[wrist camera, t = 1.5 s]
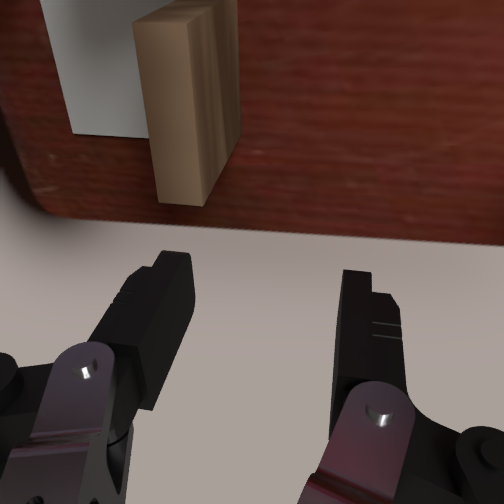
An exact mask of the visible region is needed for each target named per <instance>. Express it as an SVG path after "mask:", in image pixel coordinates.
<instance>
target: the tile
mask: <svg viewBox="0 0 504 504" xmlns="http://www.w3.org/2000/svg"><path fill="white" fill-rule="evenodd" d="M132 28H133V35H134V41H135V48H136V55H137V61H138V68H139V75H140V81H141V88H142V95H143V101H144V108H145V115H146V121H147V128H148V135H149V141H150V148H151V155H152V161H153V168H154V175H155V182H156V188H157V195H158V202H160V203H171V204H183V205H194V206H203V205H204V203H205V201H206V199H207V197H208V196H209V194H210V192H211V190H212V188H213V186H214V184H215V183H216V181H217V179H218V177H219V175H220V173H221V171H222V170H223V168H224V166H225V164H226V162H227V160H228V158H229V157H230V155H231V153H232V151H233V149H234V147H235V145H236V144H237V142H238V140H239V138H240V136H241V111H240V77H239V43H238V9H237V0H175V1H173V2H171V3H169V4H167V5H165V6H163V7H161V8H159V9H157V10H155V11H153V12H151V13H149V14H147V15H145V16H143V17H141V18H139V19H137V20H135V21H133V22H132Z"/></svg>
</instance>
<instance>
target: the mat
mask: <svg viewBox="0 0 504 504" xmlns="http://www.w3.org/2000/svg"><path fill="white" fill-rule="evenodd" d="M173 1H175V0H40V2H41V6H42V10H43V14H44V18H45V22H46V26H47V30H48V34H49V38H50V42H51V46H52V50H53V54H54V58H55V62H56V66H57V70H58V74H59V78H60V83H61V87H62V91H63V95H64V99H65V103H66V107H67V111H68V115H69V119H70V123H71V127H72V131H73V133H74V134H89V135H105V136H121V137H136V138H149V135H148V128H147V121H146V115H145V108H144V101H143V95H142V88H141V81H140V75H139V68H138V61H137V55H136V48H135V41H134V35H133V28H132V22H133V21H135V20H137V19H139V18H141V17H143V16H145V15H147V14H149V13H151V12H153V11H155V10H157V9H159V8H161V7H163V6H165V5H167V4H169V3H171V2H173Z"/></svg>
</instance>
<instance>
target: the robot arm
mask: <svg viewBox="0 0 504 504" xmlns="http://www.w3.org/2000/svg"><path fill="white" fill-rule="evenodd" d="M194 307H195V288H194V279H193V270H192V261H191V256H190V254H189V253H185V252H175V251H165V250H163V251H161V253H160V254H159V256H158V257H157V259H156V261H155V262H154V264H153V266H152V267H146V266H142V267H141V268H139V269H138V270H137V271H135V272H134V273H133V274H132V275H130V276H129V277H128V278H127V280H126V281H125V283H124V284H123V286H122V287H121V289H120V292H119V293H118V294H117V295H116V297H115V298H114V300H113V303H112V304H110V306H109V308H108V309H107V311H106V312H105V314H104V316H103V317H102V319H101V320H100V322H99V323H98V325H97V326H96V328H95V330H94V331H93V333H92V334H91V336H90V338H89V339H88V341H87V342H83V343H79V344H77V345H74V346H72V347H70V348H68V349H67V350H65V351H64V352H63V353H61V354H60V355H59V356H58V358H57V359H56V360H55V362H54V363H50V364H43V365H35V366H28V367H20V368H18V365H17V363H16V361H15V359H14V358H13V357H12V356H10V355H8V354H6V353H1V352H0V504H125V499H126V490H127V482H128V473H129V465H130V457H131V449H132V440H133V432H134V427H133V423H132V421H133V419H134V417H135V415H136V412H137V410H138V409H144V410H150V411H152V410H153V408H154V406H155V403H156V401H157V399H158V396H159V394H160V391H161V389H162V387H163V384H164V382H165V380H166V377H167V375H168V372H169V370H170V368H171V365H172V363H173V360H174V358H175V356H176V353H177V351H178V349H179V346H180V344H181V342H182V339H183V337H184V334H185V332H186V330H187V327H188V325H189V322H190V320H191V318H192V315H193V312H194ZM297 504H504V432H503V431H501V430H498V429H495V428H492V427H485V426H476V427H471V428H468V429H466V430H465V431H463V432H462V433H459V432H456V431H454V430H452V429H449V428H447V427H445V426H443V425H440V424H438V423H436V422H434V421H432V420H431V419H429V418H427V417H426V416H425V415H423V414H422V413H421V412H420V411H419V410H418V409H417V408H416V407H415V405H414V404H413V403H412V401H411V400H410V398H409V395H408V392H407V387H406V376H405V365H404V354H403V341H402V329H401V318H400V308H399V307H398V305H397V304H396V302H395V300H394V299H393V297H392V296H391V294H387V293H377V292H372V275H371V272H364V271H353V270H343V276H342V284H341V292H340V300H339V308H338V317H337V327H336V339H335V353H334V368H333V383H332V397H331V411H330V426H329V442H328V445H327V447H326V449H325V452H324V454H323V457H322V459H321V461H320V464H319V466H318V468H317V470H316V472H315V473H312V474H311V475H310V477H309V478H308V480H307V482H306V484H305V486H304V489H303V491H302V493H301V496H300V498H299V501H298V503H297Z"/></svg>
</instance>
